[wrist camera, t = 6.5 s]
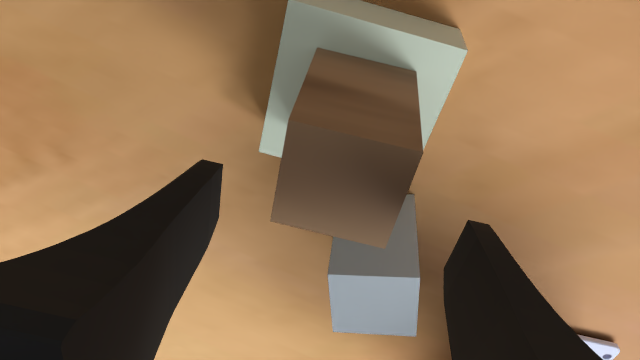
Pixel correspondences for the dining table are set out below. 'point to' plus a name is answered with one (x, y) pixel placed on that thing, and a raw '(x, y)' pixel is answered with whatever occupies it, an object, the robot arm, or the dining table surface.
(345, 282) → the bluegrey post
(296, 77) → the sage slab
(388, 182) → the walnut post
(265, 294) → the dining table surface
